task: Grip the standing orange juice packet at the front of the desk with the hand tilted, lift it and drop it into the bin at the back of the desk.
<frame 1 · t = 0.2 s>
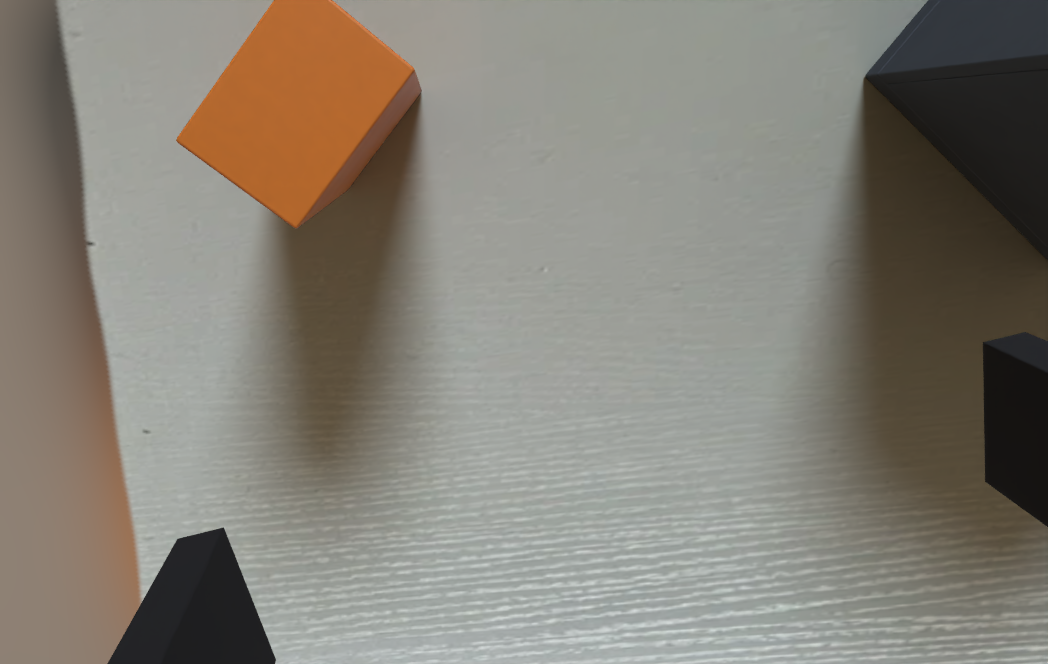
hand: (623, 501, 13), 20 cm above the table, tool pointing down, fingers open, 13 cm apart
packet: (347, 112, 30), on the table
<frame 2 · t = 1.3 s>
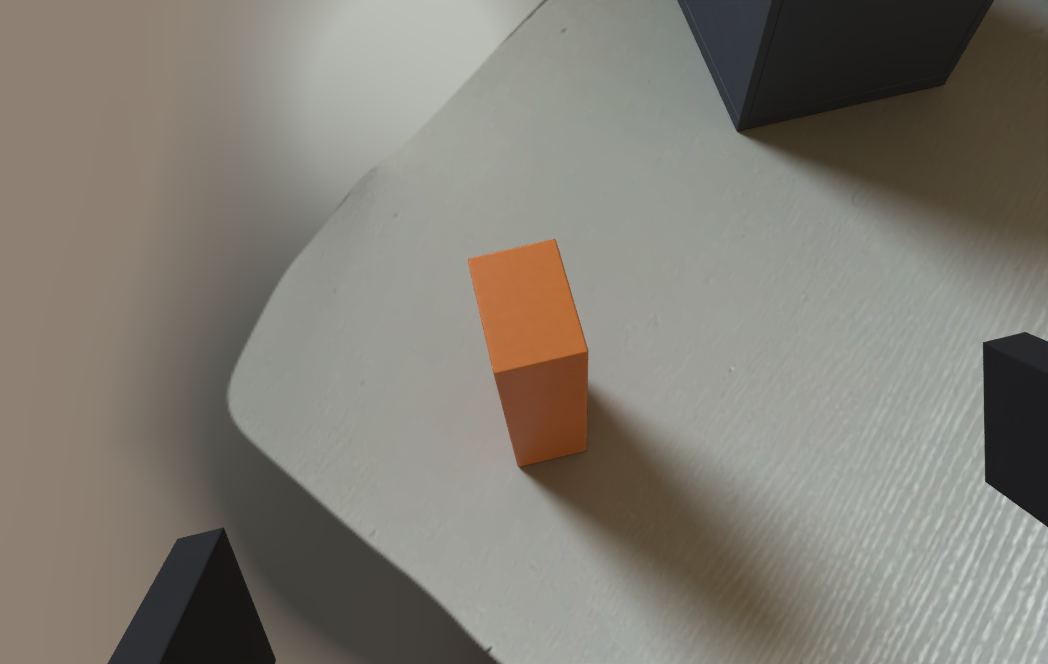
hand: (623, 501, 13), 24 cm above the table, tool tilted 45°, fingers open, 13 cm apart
packet: (540, 413, 40), on the table
bin: (800, 31, 50), on the table
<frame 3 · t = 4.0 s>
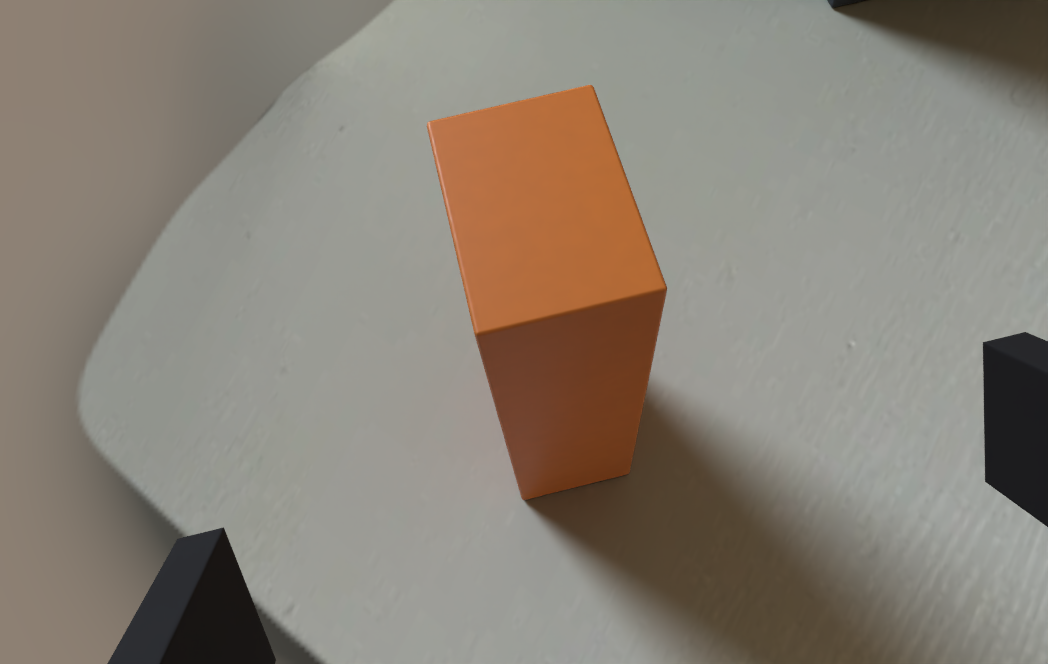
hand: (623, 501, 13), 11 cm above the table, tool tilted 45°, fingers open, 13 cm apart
packet: (556, 414, 25), on the table
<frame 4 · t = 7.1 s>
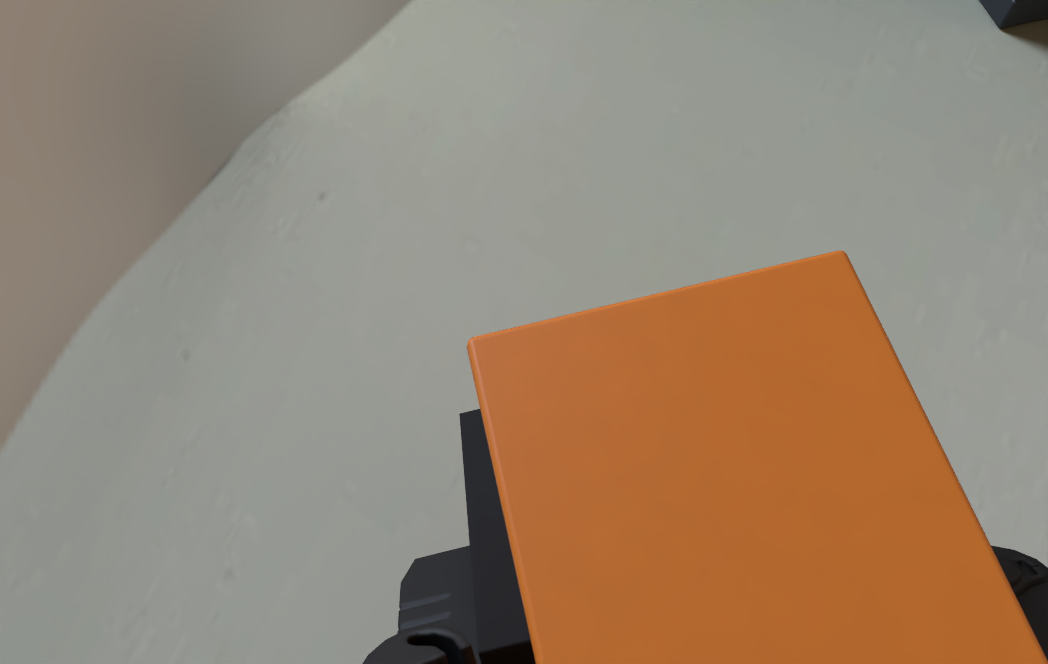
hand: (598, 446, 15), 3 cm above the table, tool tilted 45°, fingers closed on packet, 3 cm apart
packet: (643, 662, 16), on the table, touching gripper
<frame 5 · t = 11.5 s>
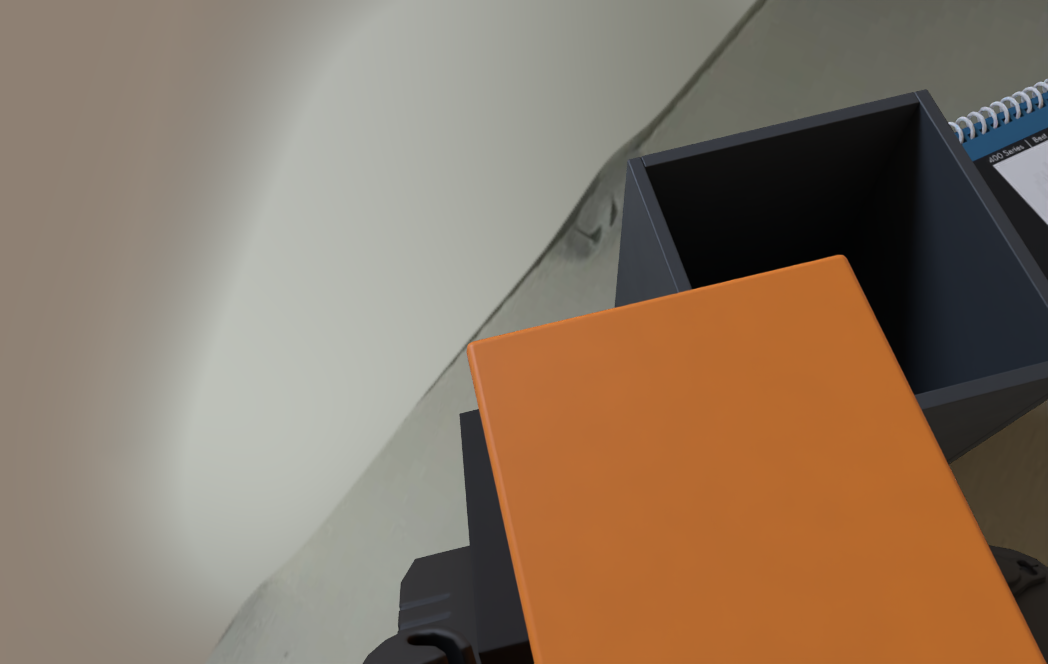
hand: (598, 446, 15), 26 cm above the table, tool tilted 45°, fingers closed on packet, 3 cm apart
bin: (761, 394, 43), on the table
when the fingers open (17 cm above the table, at t = 16.2 s): packet drops 13 cm, resting on bin.
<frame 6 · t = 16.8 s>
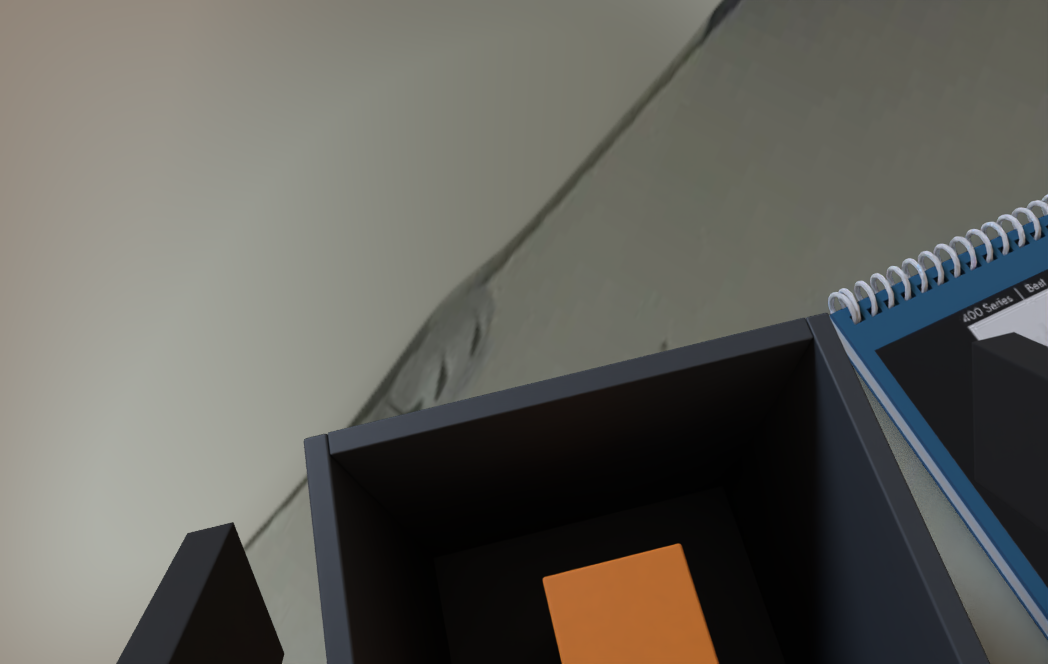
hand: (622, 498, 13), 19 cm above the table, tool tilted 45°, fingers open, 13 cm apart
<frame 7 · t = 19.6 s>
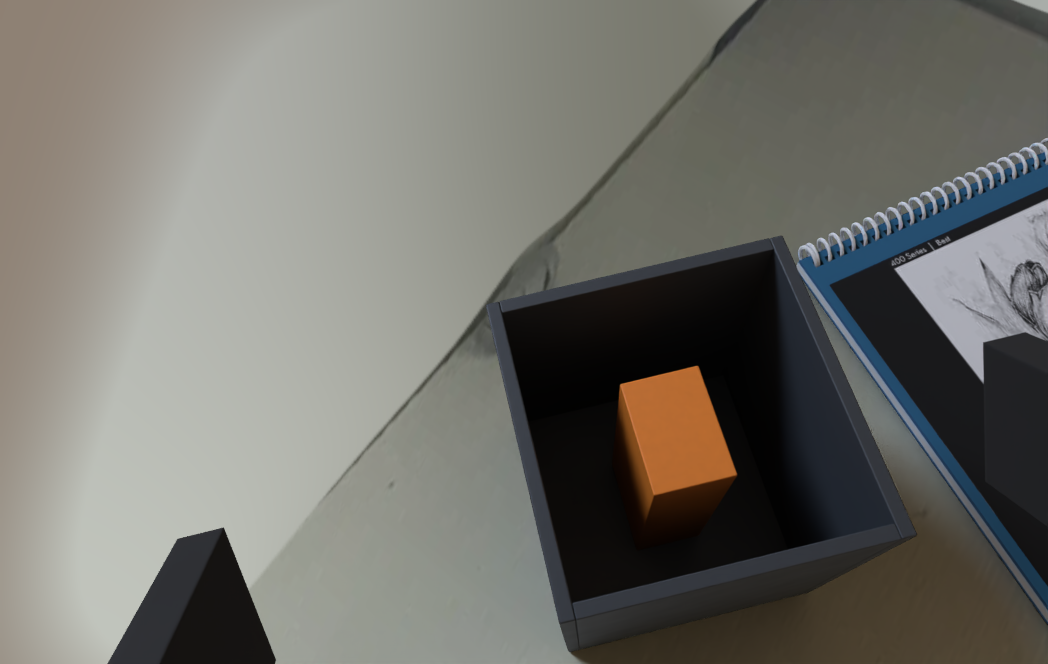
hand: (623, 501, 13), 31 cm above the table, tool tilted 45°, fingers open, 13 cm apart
packet: (654, 498, 43), point 1 cm above the table, touching bin
bin: (653, 501, 44), on the table
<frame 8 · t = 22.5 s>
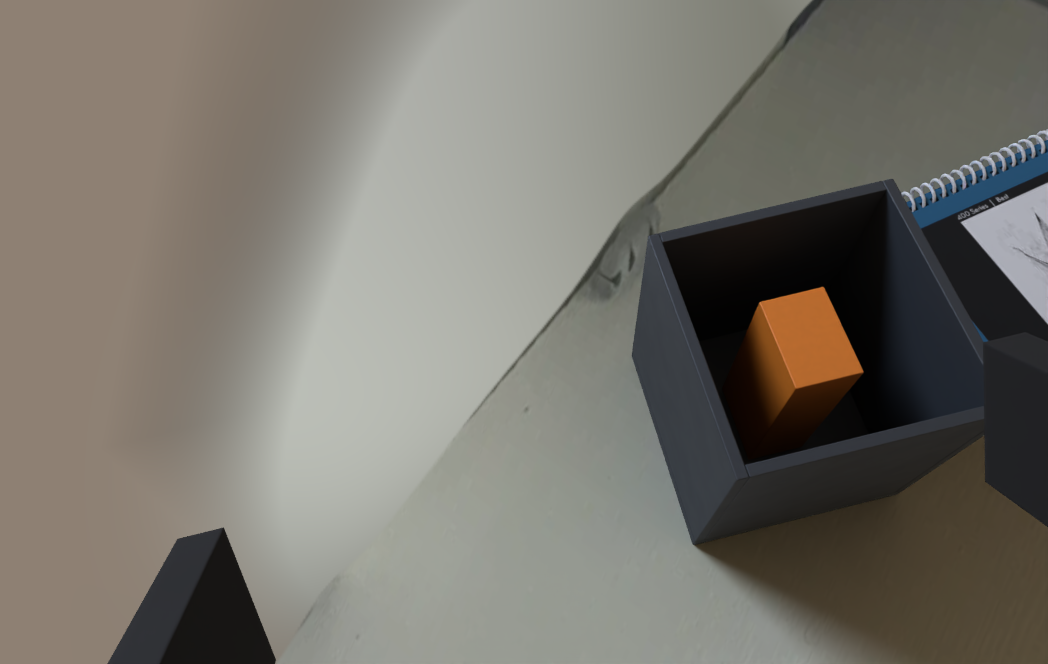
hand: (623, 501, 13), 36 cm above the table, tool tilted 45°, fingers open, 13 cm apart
packet: (760, 416, 50), point 1 cm above the table, touching bin
bin: (757, 420, 50), on the table
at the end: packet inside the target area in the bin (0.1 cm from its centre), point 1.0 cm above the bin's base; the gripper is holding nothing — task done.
